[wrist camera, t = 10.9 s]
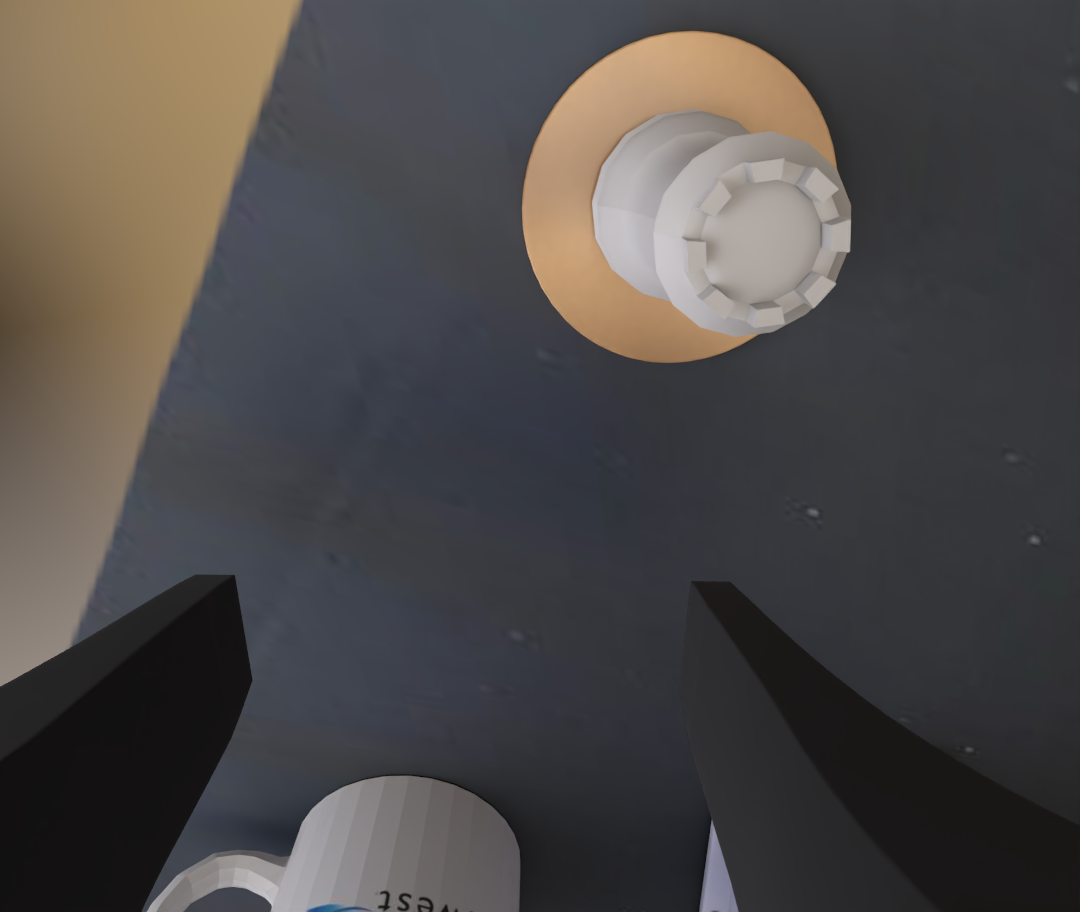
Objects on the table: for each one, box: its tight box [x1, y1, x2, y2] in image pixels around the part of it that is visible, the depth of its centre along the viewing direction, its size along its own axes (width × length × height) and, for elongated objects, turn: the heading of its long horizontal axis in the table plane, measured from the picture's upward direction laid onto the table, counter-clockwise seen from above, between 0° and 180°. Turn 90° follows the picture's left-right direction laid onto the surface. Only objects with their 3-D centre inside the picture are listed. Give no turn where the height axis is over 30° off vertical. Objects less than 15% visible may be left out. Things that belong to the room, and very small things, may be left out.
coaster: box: [522, 31, 837, 363], centre depth 19 cm, size 8×8×1 cm
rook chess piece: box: [592, 109, 851, 337], centre depth 15 cm, size 4×4×8 cm
